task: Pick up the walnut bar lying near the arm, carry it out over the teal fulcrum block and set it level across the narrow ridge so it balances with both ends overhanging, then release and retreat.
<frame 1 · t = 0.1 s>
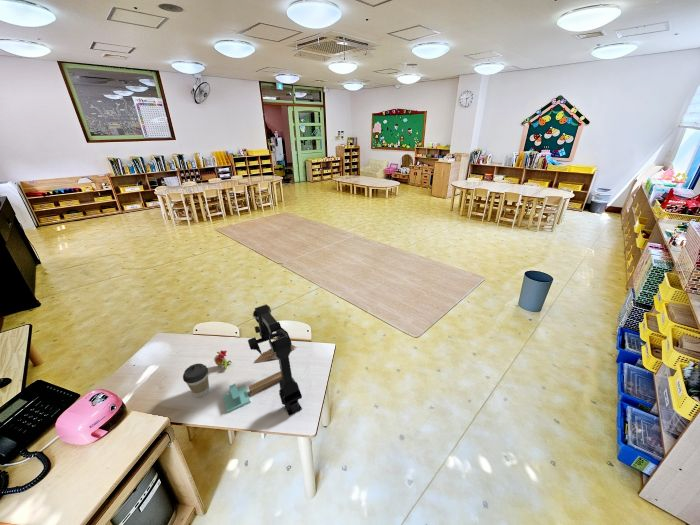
hand: (269, 350, 157), 14 cm above the table, fingers open, 9 cm apart
walnut bar: (267, 385, 155), on the table
coffee cup: (201, 391, 152), on the table
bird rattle: (223, 366, 167), on the table
fulcrum block: (236, 399, 147), on the table
wooden fragment: (275, 354, 175), on the table
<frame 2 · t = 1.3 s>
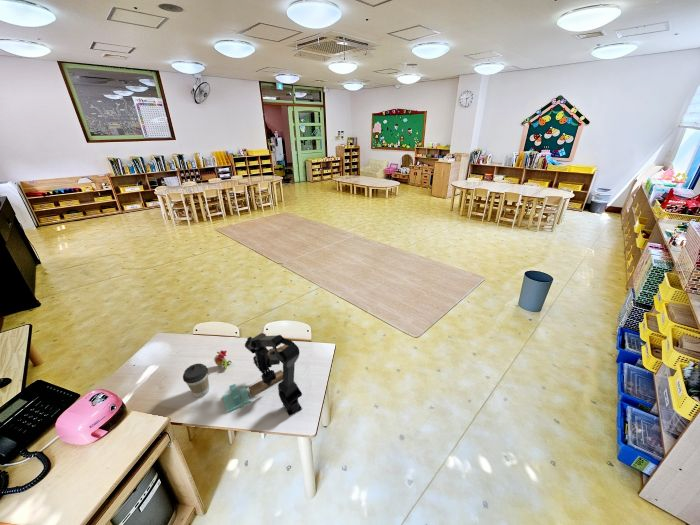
hand: (266, 379, 153), 4 cm above the table, fingers open, 9 cm apart
nothing on the table moved.
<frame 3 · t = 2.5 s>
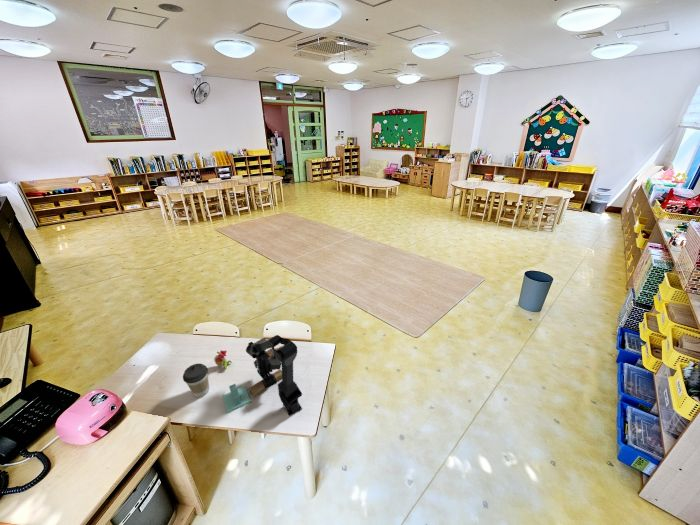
hand: (267, 383, 154), 1 cm above the table, fingers closed on walnut bar, 4 cm apart
walnut bar: (267, 385, 155), on the table, touching gripper
everything else where it was.
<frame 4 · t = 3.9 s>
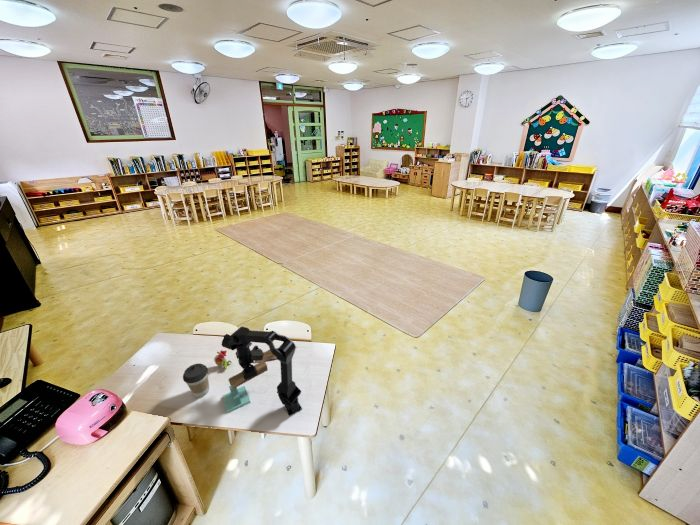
hand: (249, 375, 146), 11 cm above the table, fingers closed on walnut bar, 4 cm apart
walnut bar: (249, 377, 147), point 10 cm above the table, touching gripper
everything else where it was.
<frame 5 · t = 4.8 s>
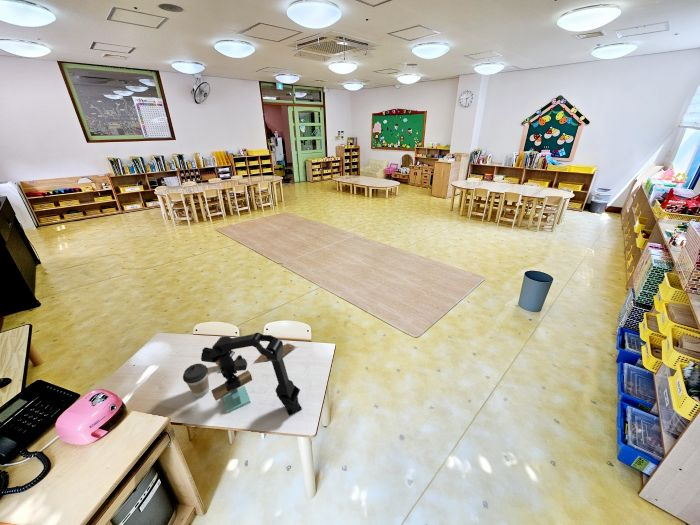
hand: (232, 386, 143), 9 cm above the table, fingers closed on walnut bar, 4 cm apart
walnut bar: (233, 387, 143), point 8 cm above the table, touching gripper
everything else where it was.
when the fingers open (8 cm above the table, at t = 5.4 s): walnut bar stays where it is, resting on fulcrum block.
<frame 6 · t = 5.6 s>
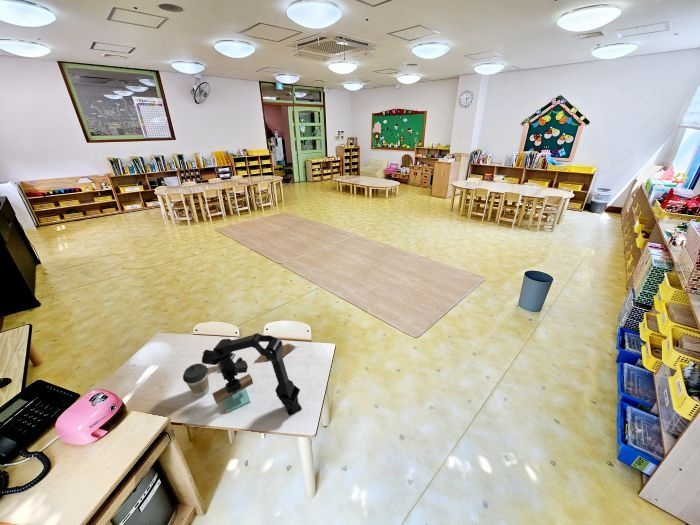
hand: (233, 388, 144), 8 cm above the table, fingers open, 6 cm apart
walnut bar: (234, 391, 144), point 6 cm above the table, touching fulcrum block
everything else where it was.
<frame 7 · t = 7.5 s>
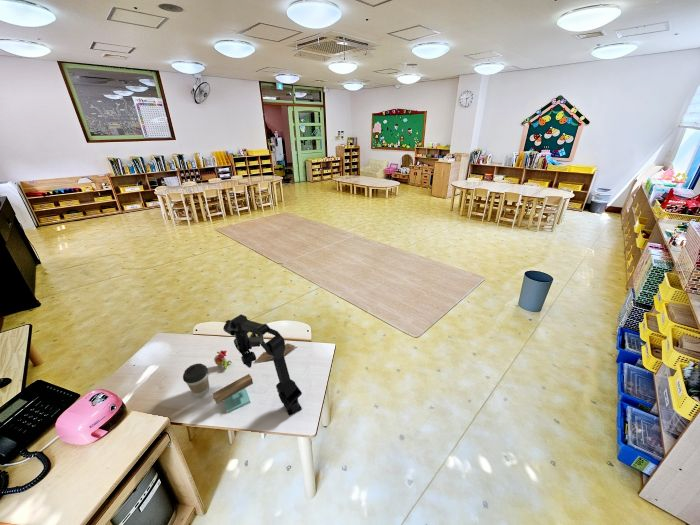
hand: (247, 361, 153), 13 cm above the table, fingers open, 9 cm apart
nothing on the table moved.
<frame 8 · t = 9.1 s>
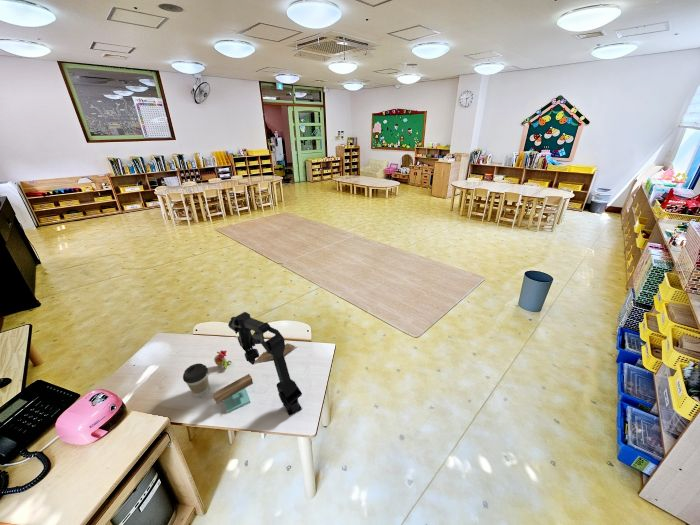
hand: (250, 358, 155), 12 cm above the table, fingers open, 9 cm apart
nothing on the table moved.
at the end: walnut bar 0.1 cm off-centre on the fulcrum block, point 6.0 cm above the fulcrum block's base; walnut bar tilted 0°; walnut bar touching fulcrum block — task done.
